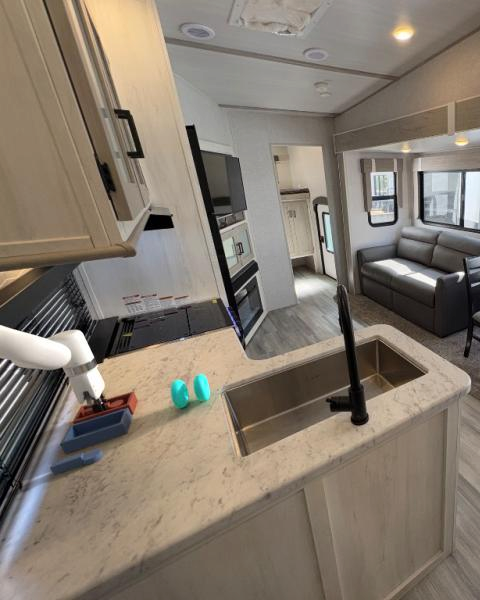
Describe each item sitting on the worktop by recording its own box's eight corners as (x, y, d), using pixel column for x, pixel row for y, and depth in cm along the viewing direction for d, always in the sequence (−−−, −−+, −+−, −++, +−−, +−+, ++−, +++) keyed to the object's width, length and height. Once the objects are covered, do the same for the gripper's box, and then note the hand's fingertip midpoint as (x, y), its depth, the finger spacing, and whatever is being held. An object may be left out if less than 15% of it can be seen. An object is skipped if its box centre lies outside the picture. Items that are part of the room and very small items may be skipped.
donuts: (209, 405, 110) (201, 381, 107) (176, 415, 106) (167, 391, 103) (211, 390, 119) (204, 368, 115) (180, 398, 115) (172, 376, 111)
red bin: (77, 431, 101) (72, 421, 100) (85, 416, 108) (81, 406, 107) (133, 414, 108) (129, 404, 107) (137, 400, 115) (133, 391, 114)
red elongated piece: (85, 420, 103) (82, 414, 102) (89, 414, 107) (85, 407, 106) (124, 408, 108) (121, 402, 107) (126, 402, 111) (123, 396, 110)
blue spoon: (52, 478, 84) (47, 470, 83) (58, 467, 88) (53, 460, 87) (101, 460, 89) (97, 453, 88) (104, 451, 93) (101, 444, 92)
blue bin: (65, 454, 92) (59, 444, 91) (75, 435, 99) (70, 425, 98) (127, 433, 99) (122, 423, 98) (132, 417, 106) (128, 407, 105)
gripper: (73, 360, 105) (95, 403, 112) (55, 382, 92) (81, 430, 99) (102, 353, 109) (121, 395, 115) (89, 374, 96) (111, 420, 102)
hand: (103, 411), depth 107 cm, fingers closed on red elongated piece
